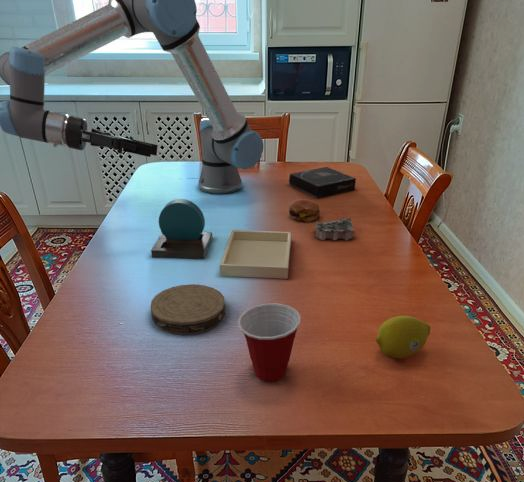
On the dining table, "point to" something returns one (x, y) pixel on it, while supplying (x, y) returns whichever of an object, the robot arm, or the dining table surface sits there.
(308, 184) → the black box
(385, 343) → the lemon
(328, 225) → the egg carton
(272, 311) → the plastic cup
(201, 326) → the wood log slice
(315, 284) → the dining table surface
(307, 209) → the burger
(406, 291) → the dining table surface
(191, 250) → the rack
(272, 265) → the tray
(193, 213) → the disc
